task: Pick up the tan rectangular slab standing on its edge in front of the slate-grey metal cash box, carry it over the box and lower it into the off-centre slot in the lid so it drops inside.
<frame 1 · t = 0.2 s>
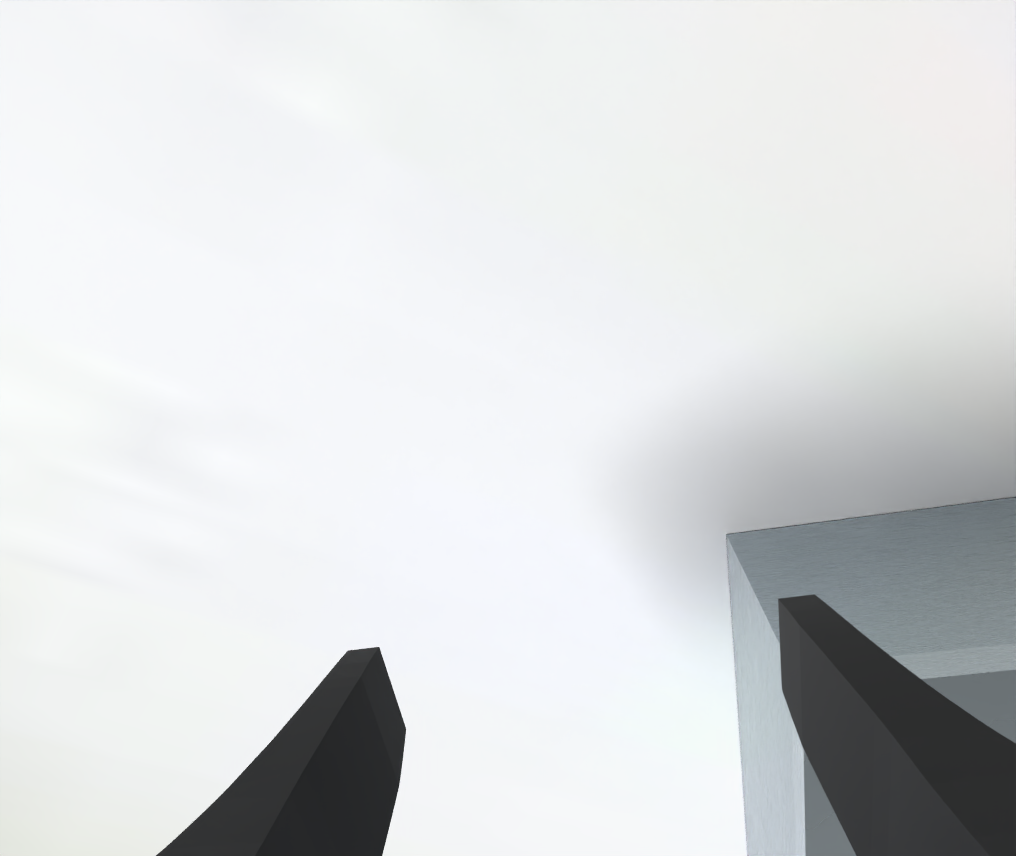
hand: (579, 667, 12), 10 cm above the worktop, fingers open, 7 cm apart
cash box: (901, 715, 25), on the worktop
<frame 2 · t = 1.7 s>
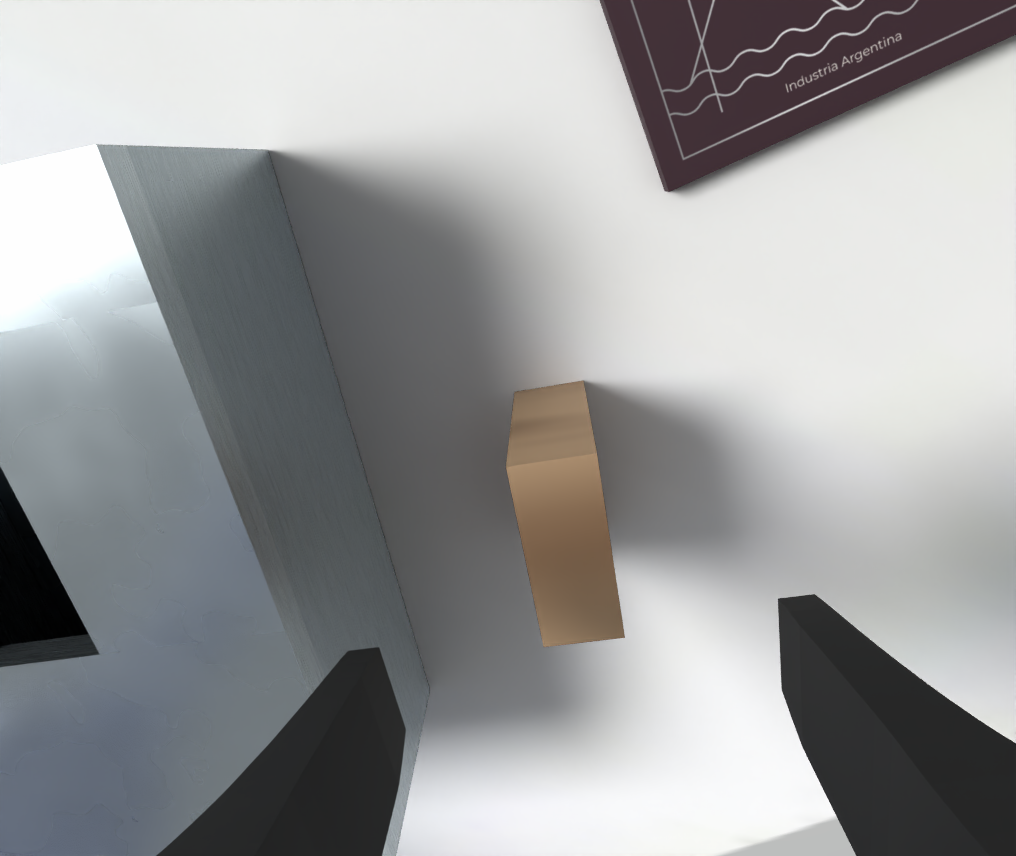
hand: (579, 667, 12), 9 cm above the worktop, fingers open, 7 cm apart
cash box: (180, 493, 21), on the worktop
tan rectangular slab: (562, 463, 20), on the worktop
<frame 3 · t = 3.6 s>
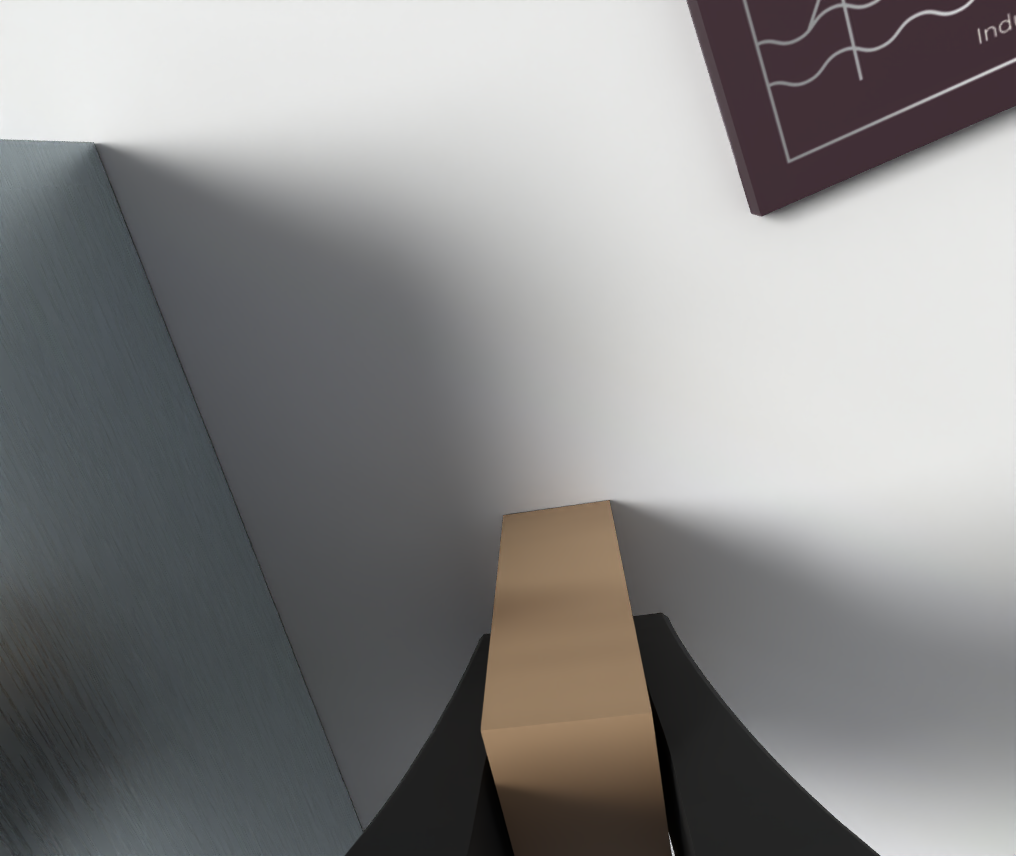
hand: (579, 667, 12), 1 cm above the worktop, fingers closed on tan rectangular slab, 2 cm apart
cash box: (15, 647, 14), on the worktop
tan rectangular slab: (575, 615, 13), on the worktop, touching gripper
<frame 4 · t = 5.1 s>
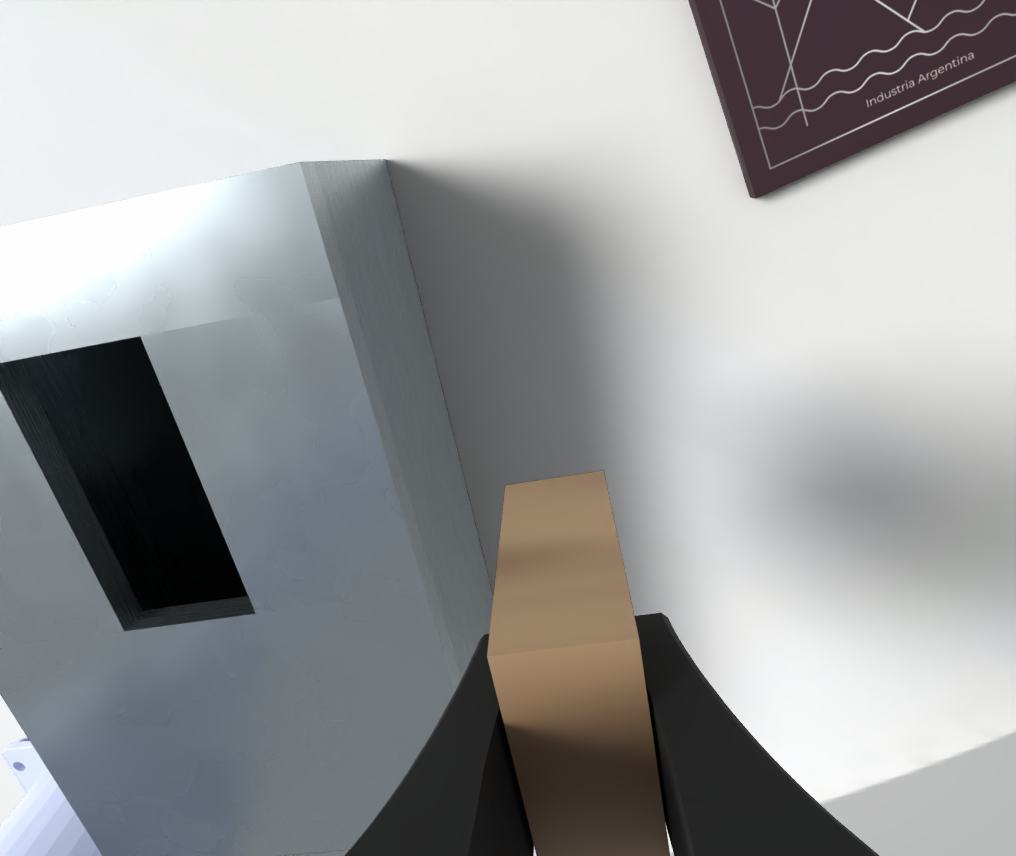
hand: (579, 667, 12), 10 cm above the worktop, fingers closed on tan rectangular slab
cash box: (285, 475, 22), on the worktop
tan rectangular slab: (572, 581, 14), point 8 cm above the worktop, touching gripper
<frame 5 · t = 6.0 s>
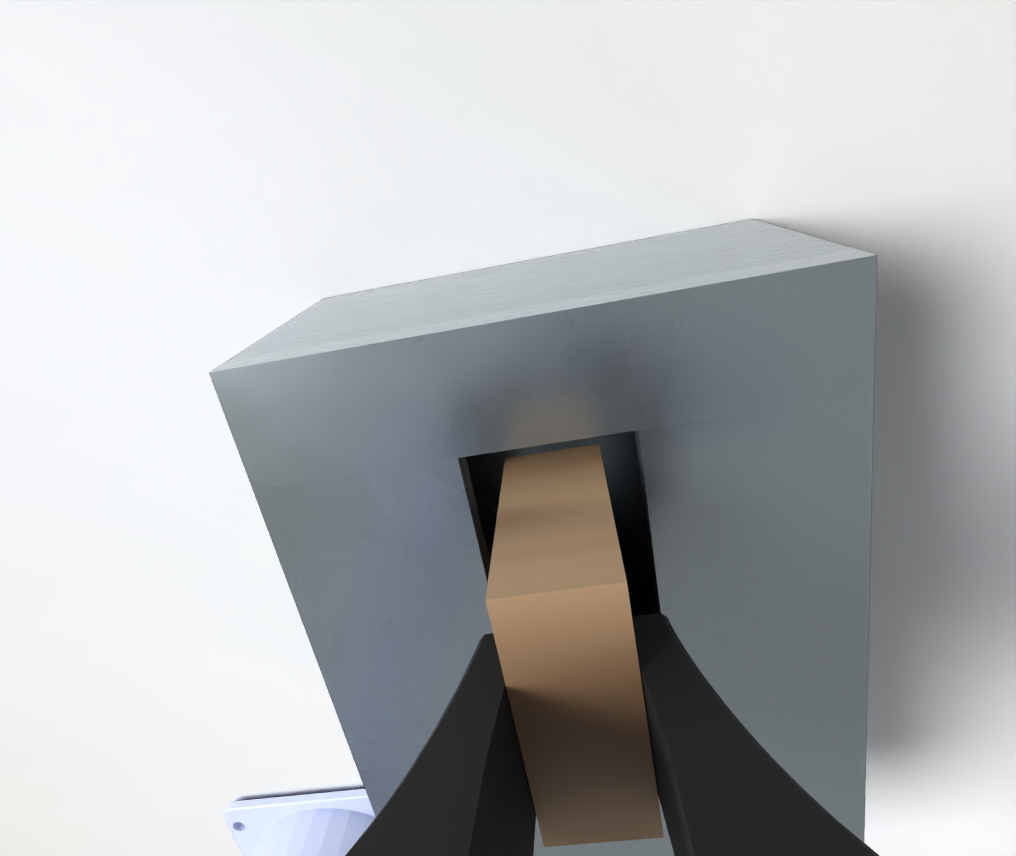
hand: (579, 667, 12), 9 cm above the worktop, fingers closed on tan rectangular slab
cash box: (577, 537, 21), on the worktop
tan rectangular slab: (569, 552, 15), point 6 cm above the worktop, touching gripper
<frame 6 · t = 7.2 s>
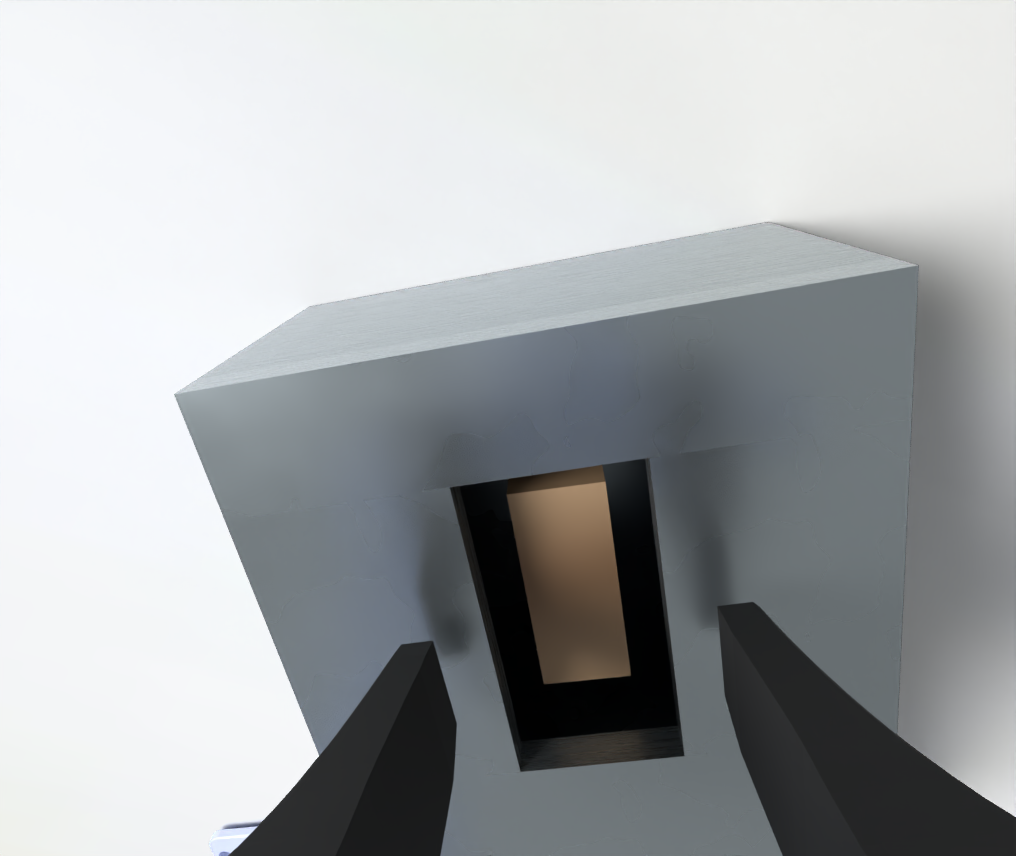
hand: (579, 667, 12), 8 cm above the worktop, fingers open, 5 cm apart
cash box: (579, 558, 20), on the worktop
tan rectangular slab: (564, 483, 19), resting on cash box
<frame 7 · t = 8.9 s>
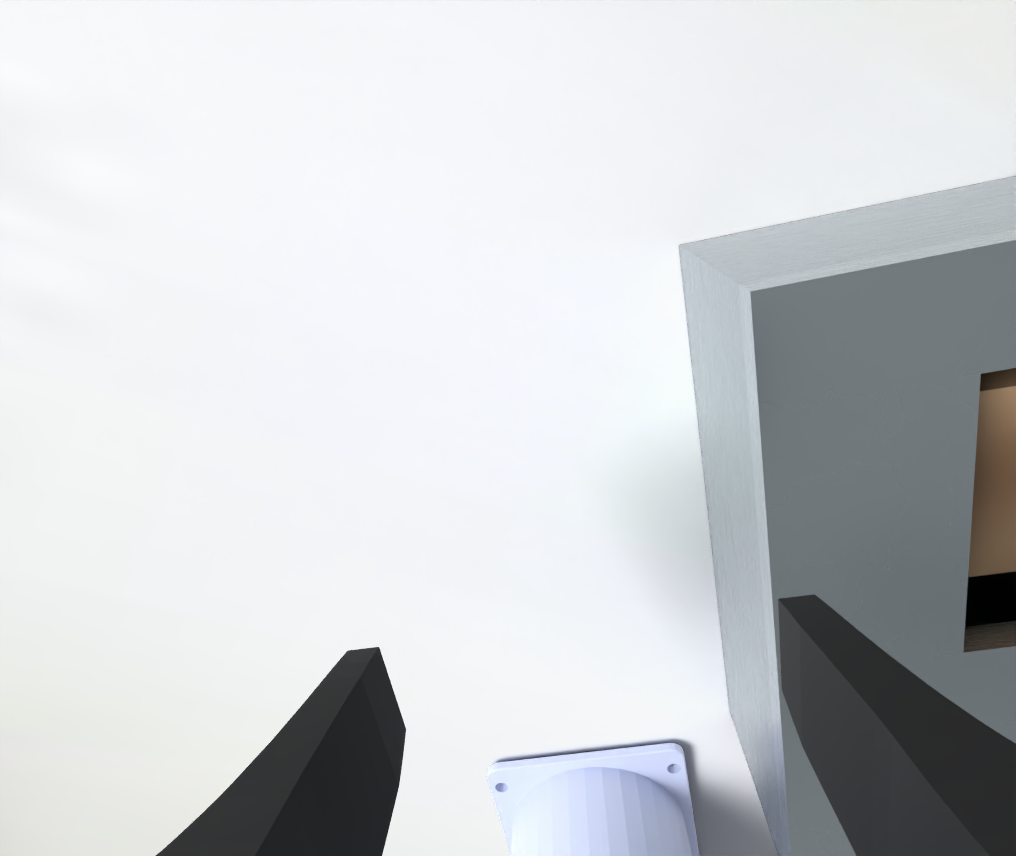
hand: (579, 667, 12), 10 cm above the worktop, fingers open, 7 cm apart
cash box: (893, 484, 21), on the worktop
tan rectangular slab: (901, 408, 20), resting on cash box
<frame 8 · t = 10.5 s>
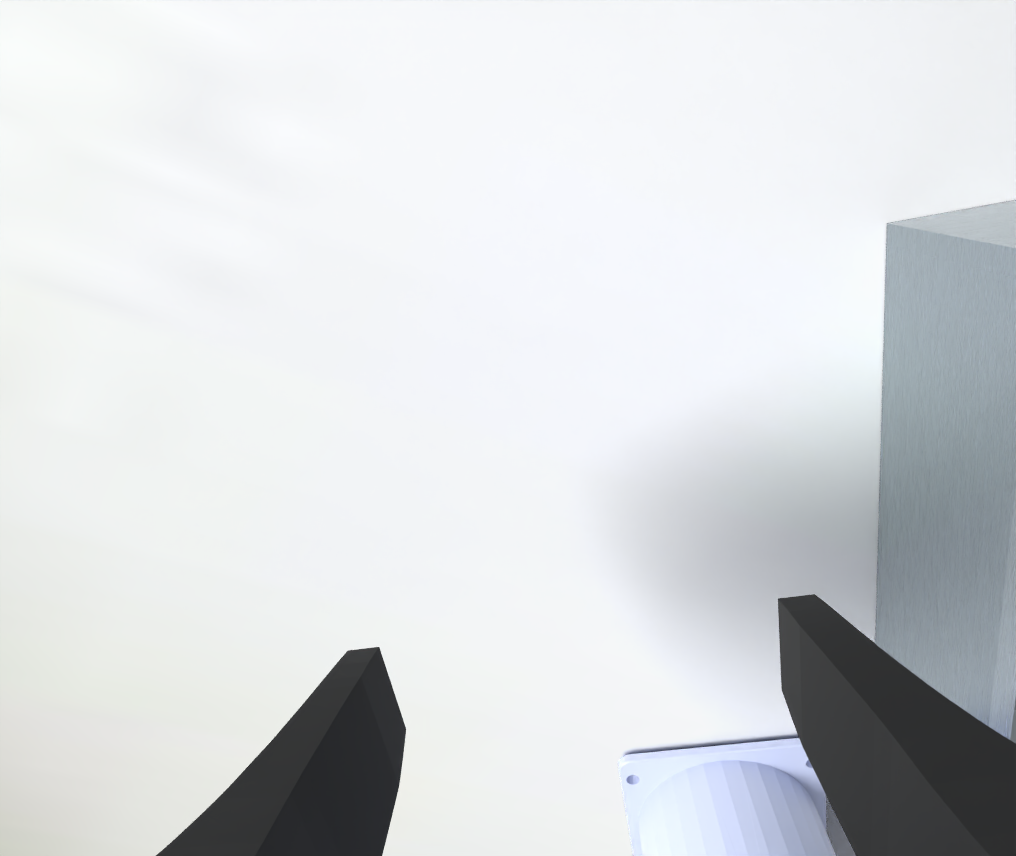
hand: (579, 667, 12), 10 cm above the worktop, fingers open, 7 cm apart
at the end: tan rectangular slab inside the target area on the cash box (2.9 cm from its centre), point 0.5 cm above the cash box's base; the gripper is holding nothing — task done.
